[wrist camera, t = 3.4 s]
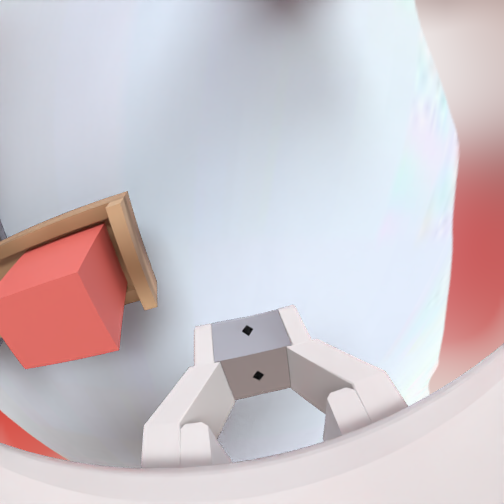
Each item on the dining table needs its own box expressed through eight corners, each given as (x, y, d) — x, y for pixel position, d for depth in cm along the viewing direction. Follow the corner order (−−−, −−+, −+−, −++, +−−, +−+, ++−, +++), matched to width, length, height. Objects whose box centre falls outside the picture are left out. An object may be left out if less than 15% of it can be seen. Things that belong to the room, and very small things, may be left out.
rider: (25, 251, 13) (-18, 305, 7) (104, 222, 14) (77, 272, 9) (51, 304, 14) (25, 368, 9) (127, 282, 16) (119, 350, 10)
